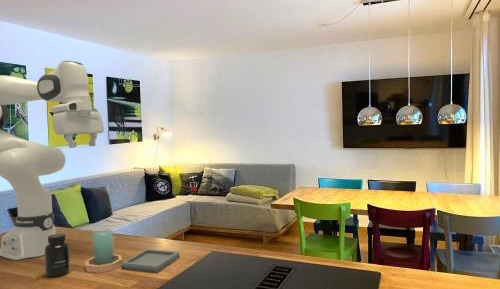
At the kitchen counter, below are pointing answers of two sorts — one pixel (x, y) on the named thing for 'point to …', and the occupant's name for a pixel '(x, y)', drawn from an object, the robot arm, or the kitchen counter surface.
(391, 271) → the kitchen counter surface
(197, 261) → the kitchen counter surface
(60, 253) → the supplement bottle
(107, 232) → the teal green cylinder
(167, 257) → the tray
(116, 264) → the holder
